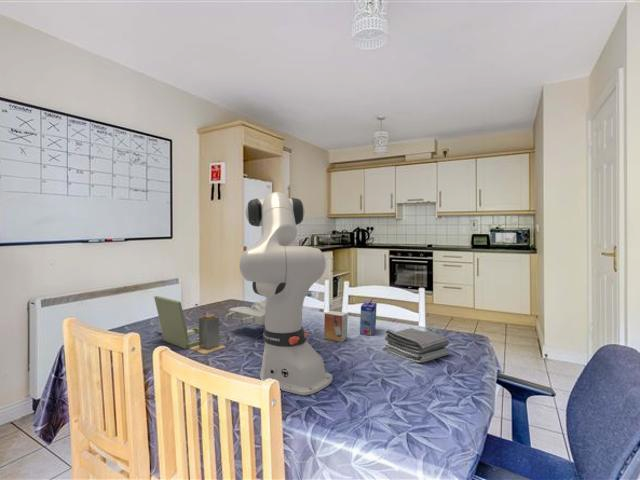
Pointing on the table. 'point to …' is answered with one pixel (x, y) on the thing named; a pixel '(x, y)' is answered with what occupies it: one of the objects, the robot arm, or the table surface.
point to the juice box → (368, 318)
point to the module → (209, 332)
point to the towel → (416, 345)
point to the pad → (206, 350)
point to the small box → (335, 326)
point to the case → (174, 323)
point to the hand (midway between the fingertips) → (234, 319)
